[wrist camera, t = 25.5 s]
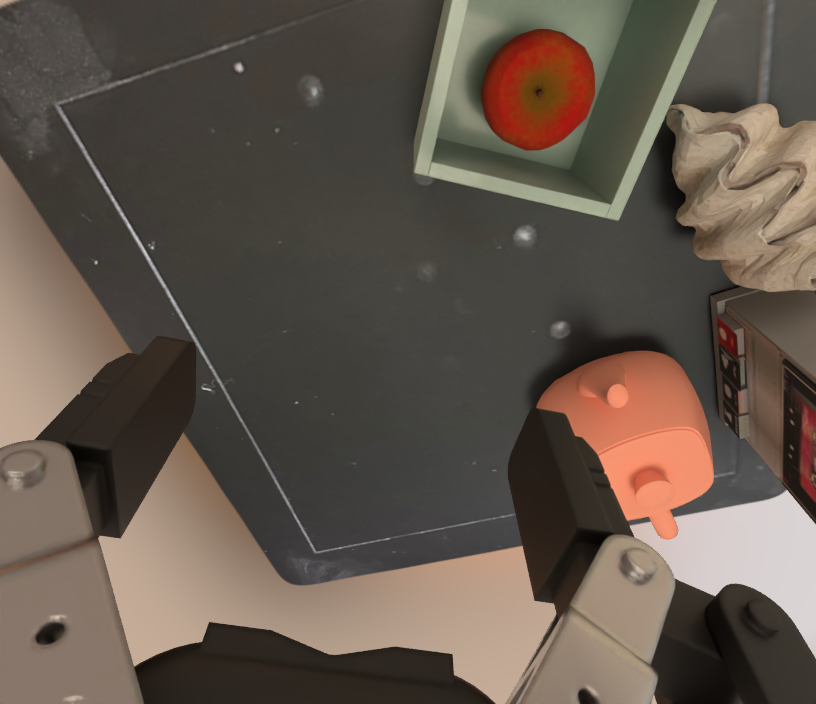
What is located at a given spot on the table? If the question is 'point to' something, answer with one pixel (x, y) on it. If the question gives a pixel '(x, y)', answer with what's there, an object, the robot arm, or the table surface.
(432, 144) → the pale green hollow box
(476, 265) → the table surface
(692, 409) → the teapot
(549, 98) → the apple
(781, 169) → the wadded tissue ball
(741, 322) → the cassette tape recorder
